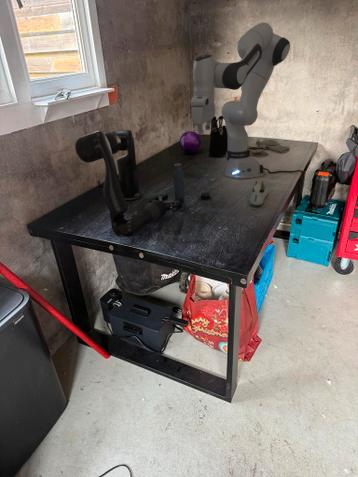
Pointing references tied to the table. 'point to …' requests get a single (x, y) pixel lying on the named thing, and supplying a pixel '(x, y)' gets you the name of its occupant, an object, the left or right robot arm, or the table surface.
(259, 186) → the ballet flat
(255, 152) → the pair of gloves
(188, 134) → the decorative orb
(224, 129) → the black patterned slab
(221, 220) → the table surface
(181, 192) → the bottle
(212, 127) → the boot
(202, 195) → the cap
